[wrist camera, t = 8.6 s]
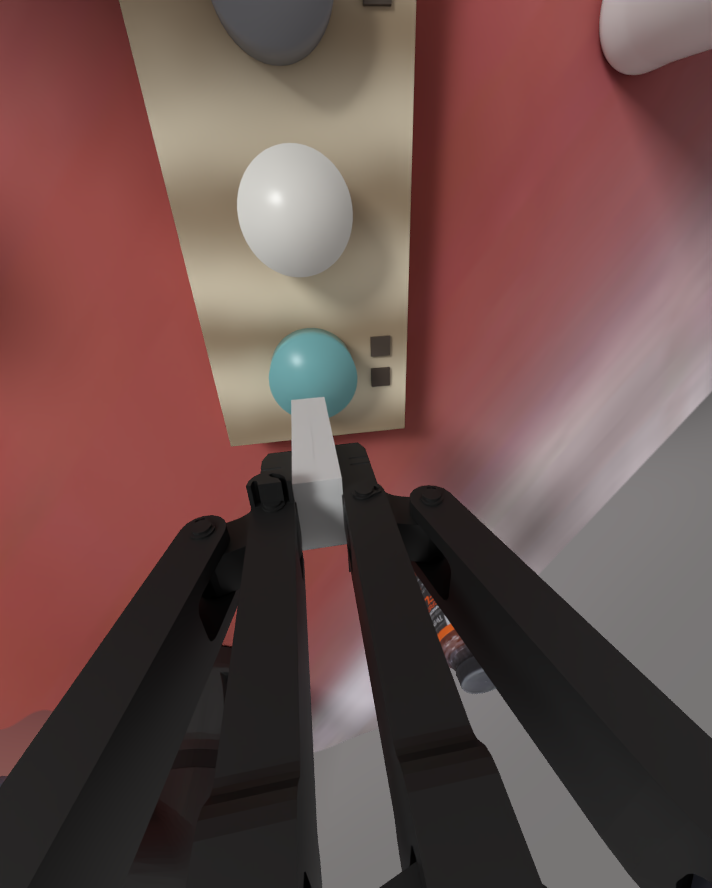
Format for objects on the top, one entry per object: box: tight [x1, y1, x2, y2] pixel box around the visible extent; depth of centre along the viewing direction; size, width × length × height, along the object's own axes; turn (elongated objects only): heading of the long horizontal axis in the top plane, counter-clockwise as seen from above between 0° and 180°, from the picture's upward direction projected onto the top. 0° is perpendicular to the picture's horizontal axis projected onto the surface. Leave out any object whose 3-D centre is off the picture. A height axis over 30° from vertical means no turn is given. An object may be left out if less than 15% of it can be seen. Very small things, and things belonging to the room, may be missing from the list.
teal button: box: [269, 328, 357, 418], centre depth 22 cm, size 5×5×2 cm
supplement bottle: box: [414, 572, 496, 694], centre depth 34 cm, size 6×6×11 cm
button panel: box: [119, 0, 416, 446], centre depth 20 cm, size 26×12×3 cm, turn 3°
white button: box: [237, 143, 353, 277], centre depth 17 cm, size 5×5×2 cm
